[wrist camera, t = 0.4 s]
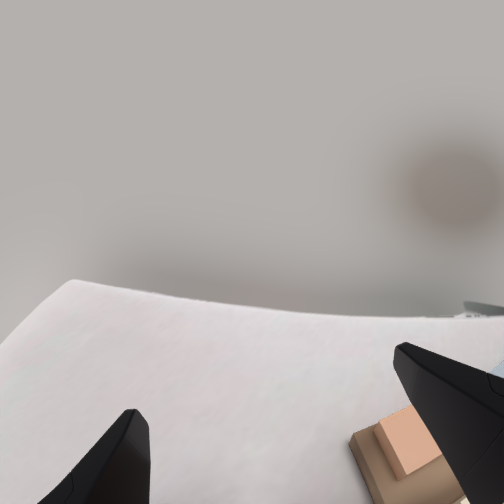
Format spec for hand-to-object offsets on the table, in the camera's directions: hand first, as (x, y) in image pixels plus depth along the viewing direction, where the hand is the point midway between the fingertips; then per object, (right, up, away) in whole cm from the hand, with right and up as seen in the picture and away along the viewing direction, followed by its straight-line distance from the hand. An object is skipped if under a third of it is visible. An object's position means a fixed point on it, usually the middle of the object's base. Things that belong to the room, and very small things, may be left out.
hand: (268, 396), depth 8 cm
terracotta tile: (+12, -10, +7) cm, 16 cm away
